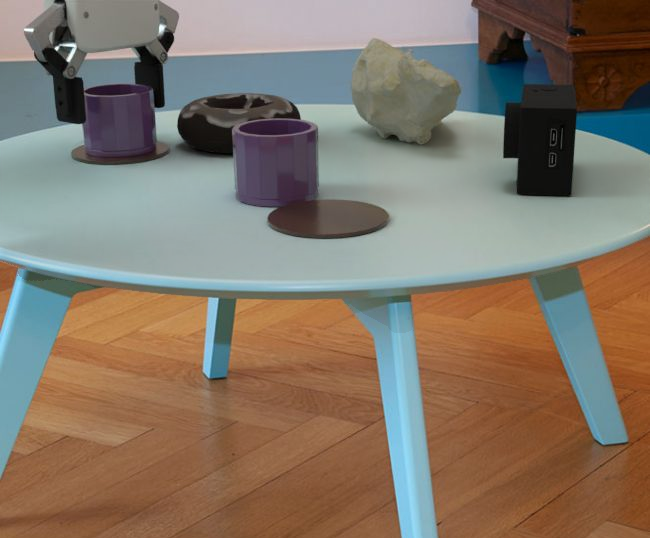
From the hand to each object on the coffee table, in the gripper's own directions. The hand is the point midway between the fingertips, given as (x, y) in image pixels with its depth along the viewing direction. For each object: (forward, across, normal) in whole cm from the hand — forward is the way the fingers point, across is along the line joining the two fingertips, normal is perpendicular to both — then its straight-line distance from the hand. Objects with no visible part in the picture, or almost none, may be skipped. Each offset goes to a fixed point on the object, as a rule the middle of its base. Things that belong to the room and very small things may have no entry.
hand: (112, 114), depth 103 cm
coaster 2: (+4, +6, +29) cm, 30 cm away
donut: (+4, -10, +7) cm, 12 cm away
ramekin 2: (+4, +3, +22) cm, 22 cm away
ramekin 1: (+3, -1, 0) cm, 3 cm away
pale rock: (+3, -20, +21) cm, 29 cm away
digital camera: (+4, -13, +36) cm, 39 cm away
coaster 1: (+4, -1, 0) cm, 4 cm away
